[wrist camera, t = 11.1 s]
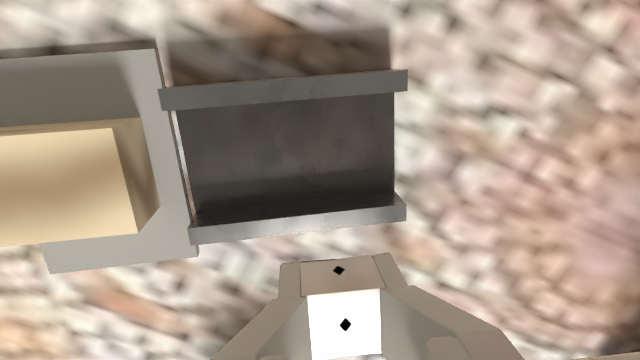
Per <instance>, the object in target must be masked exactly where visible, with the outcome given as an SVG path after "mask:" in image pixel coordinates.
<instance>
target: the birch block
mask: <svg viewBox="0 0 640 360" xmlns="http://www.w3.org/2000/svg"><path fill="white" fill-rule="evenodd" d="M160 207H161V205H160V201H159V196H158V192H157V187H156V183H155V178H154V174H153V169H152V165H151V160H150V156H149V151H148V147H147V142H146V138H145V133H144V129H143V124H142V119H141V117H135V118H122V119H108V120H94V121H80V122H66V123H52V124H38V125H25V126H11V127H0V247H7V246H17V245H26V244H36V243H46V242H56V241H66V240H76V239H86V238H96V237H106V236H116V235H126V234H136V233H139V232H140V230H141V229H142V228H143V227H144V226H145V224H146V223H147V222H148V221H149V220H150V219H151V217H152V216H153V215H154V214H155V213H156V211H157V210H158V209H159V208H160Z"/></svg>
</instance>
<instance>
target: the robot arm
mask: <svg viewBox="0 0 640 360" xmlns="http://www.w3.org/2000/svg"><path fill="white" fill-rule="evenodd" d="M371 353H381V354H382V355H383V356H384V357H385V358H386V359H387V360H524V358H523V357H522V356H521V355H520V353H519V352H518V351H517V350H516V348H515V347H514V346H513V345H512V343H511V342H510V341H509V340H508V338H507V337H506V336H505V335H504V333H503V332H502V331H501V330H500V329H499V328H497V327H495V326H493V325H491V324H489V323H487V322H485V321H483V320H481V319H479V318H477V317H475V316H473V315H471V314H469V313H467V312H465V311H463V310H461V309H459V308H457V307H455V306H453V305H451V304H449V303H447V302H445V301H444V300H442V299H440V298H438V297H436V296H434V295H432V294H430V293H428V292H426V291H424V290H422V289H420V288H418V287H416V286H414V285H412V286H408V284H407V282H406V281H405V279H404V277H403V275H402V273H401V271H400V270H399V268H398V266H397V264H396V262H395V261H394V259H393V257H392V255H391V254H390V253H383V254H376V255H367V256H359V257H351V258H342V259H329V260H316V261H303V262H300V263H299V262H290V263H282V264H281V265H280V277H279V293H278V299H276V300H272V301H271V302H270V303H269V304H268V305H267V306H266V307H265V308H264V309H263V310H262V311H261V312H259V313H258V314H257V315H256V316H255V317H254V318H253V319H252V320H251V321H250V322H249V323H248V324H247V325H246V326H245V327H244V328H243V329H242V330H241V331H240V332H239V333H237V334H236V335H235V336H234V337H233V338H232V339H231V340H230V341H229V342H228V343H227V344H226V345H225V346H224V347H223V348H222V349H221V350H220V351H219V352H218V353H217V354H216V355H214V356H213V357H212V358H211V359H210V360H319V359H326V358H333V357H340V356H347V355H359V354H371ZM572 360H640V352H632V353H623V354H615V355H606V356H598V357H589V358H581V359H572Z"/></svg>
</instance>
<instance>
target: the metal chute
mask: <svg viewBox="0 0 640 360" xmlns="http://www.w3.org/2000/svg"><path fill="white" fill-rule="evenodd" d="M407 83H408V70H404V69H386V70H373V71H360V72H347V73H334V74H321V75H308V76H295V77H282V78H269V79H256V80H243V81H231V82H218V83H205V84H192V85H179V86H170V87H165V88H160V89H157V91H158V95H159V100H160V105H161V109H162V111H173V110H175V111H176V116H177V121H178V125H179V130H180V135H181V140H182V145H183V150H184V155H185V160H186V165H187V170H188V175H189V180H190V185H191V190H192V195H193V200H194V205H195V210H196V213H195V215H194V217H193V219H192V221H191V222H190V224H189V226H188V228H187V231H188V236H189V241H190V245H191V246H193V245H201V244H210V243H219V242H227V241H236V240H245V239H253V238H262V237H271V236H279V235H288V234H297V233H305V232H314V231H323V230H331V229H340V228H349V227H357V226H366V225H375V224H383V223H392V222H401V221H406V203H405V202H404V201H403V200H402V199H401V198H400V197H399V196H398V195H397V193H396V192H395V191H394V92H401V91H407Z"/></svg>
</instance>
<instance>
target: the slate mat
mask: <svg viewBox="0 0 640 360" xmlns="http://www.w3.org/2000/svg"><path fill="white" fill-rule="evenodd" d="M160 88H165V83H164V78H163V73H162V68H161V63H160V59H159V54H158V49H141V50H126V51H112V52H97V53H82V54H68V55H53V56H38V57H24V58H9V59H0V127H11V126H25V125H38V124H52V123H66V122H80V121H94V120H108V119H122V118H135V117H141V119H142V124H143V129H144V133H145V138H146V142H147V147H148V151H149V156H150V160H151V165H152V169H153V174H154V178H155V183H156V187H157V192H158V196H159V201H160V205H161V207H160V208H159V209H158V210H157V211H156V213H155V214H154V215H153V216H152V217H151V219H150V220H149V221H148V222H147V223H146V224H145V226H144V227H143V228H142V229H141V230H140V232H139V233H136V234H126V235H116V236H106V237H96V238H86V239H76V240H66V241H56V242H46V243H39V245H40V248H41V251H42V253H43V256H44V259H45V261H46V264H47V267H48V270H49V272H50V274H56V273H64V272H72V271H81V270H89V269H98V268H106V267H115V266H123V265H132V264H140V263H149V262H157V261H165V260H174V259H182V258H191V257H198V255H199V248H198V245H193V246H191V245H190V241H189V236H188V231H187V228H188V226H189V224H190V222H191V221H192V214H191V209H190V204H189V200H188V195H187V190H186V185H185V180H184V175H183V170H182V166H181V161H180V156H179V151H178V146H177V141H176V136H175V132H174V127H173V122H172V117H171V112H170V111H162V109H161V105H160V100H159V95H158V91H157V89H160Z"/></svg>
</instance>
